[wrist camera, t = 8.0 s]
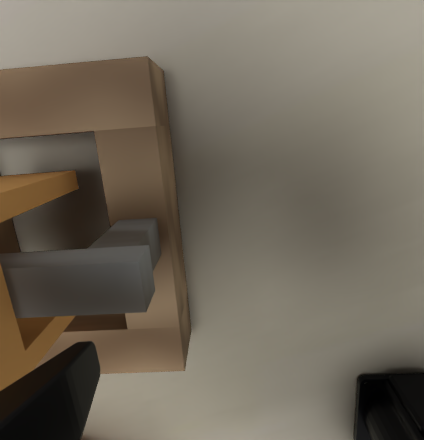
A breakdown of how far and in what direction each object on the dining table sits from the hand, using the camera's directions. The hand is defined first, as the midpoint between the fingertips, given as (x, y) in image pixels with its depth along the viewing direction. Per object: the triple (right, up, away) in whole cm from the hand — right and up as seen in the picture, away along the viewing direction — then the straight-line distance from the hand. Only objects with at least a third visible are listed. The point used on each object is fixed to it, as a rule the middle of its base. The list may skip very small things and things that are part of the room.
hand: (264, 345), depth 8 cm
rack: (-10, +3, +13) cm, 17 cm away
